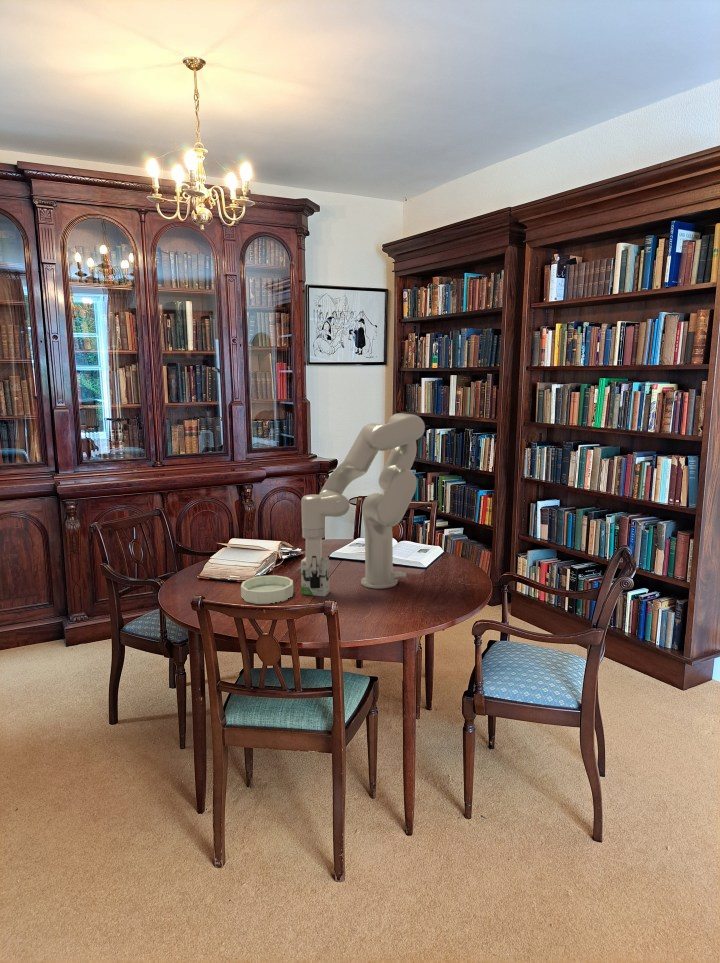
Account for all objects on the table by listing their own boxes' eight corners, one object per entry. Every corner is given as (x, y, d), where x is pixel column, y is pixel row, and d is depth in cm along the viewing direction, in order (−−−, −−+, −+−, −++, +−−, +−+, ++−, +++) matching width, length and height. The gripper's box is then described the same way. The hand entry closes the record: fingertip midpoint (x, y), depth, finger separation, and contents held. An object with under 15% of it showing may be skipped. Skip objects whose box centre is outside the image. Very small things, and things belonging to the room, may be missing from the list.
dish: (294, 585, 223) (293, 574, 223) (291, 602, 207) (291, 590, 206) (245, 587, 222) (244, 576, 222) (238, 604, 206) (238, 592, 205)
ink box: (300, 594, 214) (299, 560, 212) (306, 589, 219) (305, 556, 217) (325, 596, 212) (324, 561, 210) (330, 591, 216) (329, 557, 214)
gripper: (303, 526, 220) (304, 577, 223) (301, 539, 203) (303, 593, 206) (325, 525, 221) (326, 576, 224) (325, 538, 204) (326, 592, 207)
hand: (315, 584), depth 215 cm, fingers closed on ink box, 6 cm apart
